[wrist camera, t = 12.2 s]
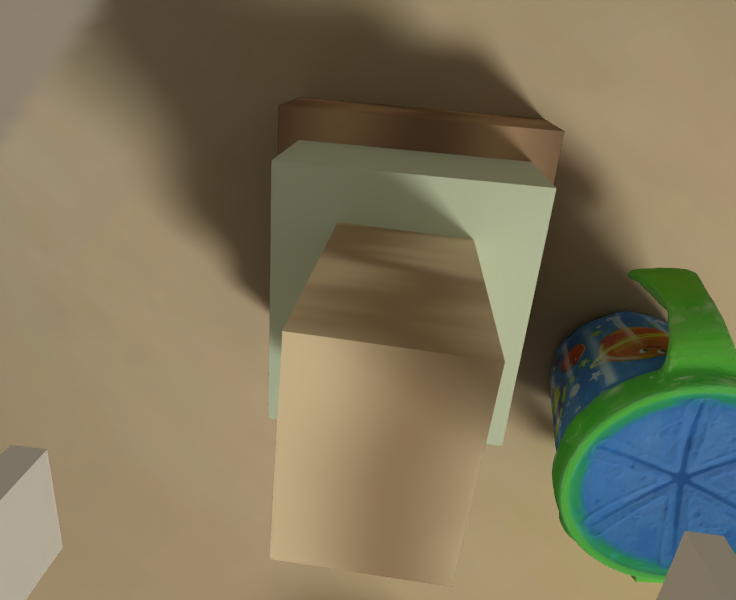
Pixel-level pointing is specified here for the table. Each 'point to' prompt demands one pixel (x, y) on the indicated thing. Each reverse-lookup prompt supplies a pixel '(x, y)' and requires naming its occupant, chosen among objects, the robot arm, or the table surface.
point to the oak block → (384, 405)
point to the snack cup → (647, 428)
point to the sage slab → (411, 228)
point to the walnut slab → (421, 131)
